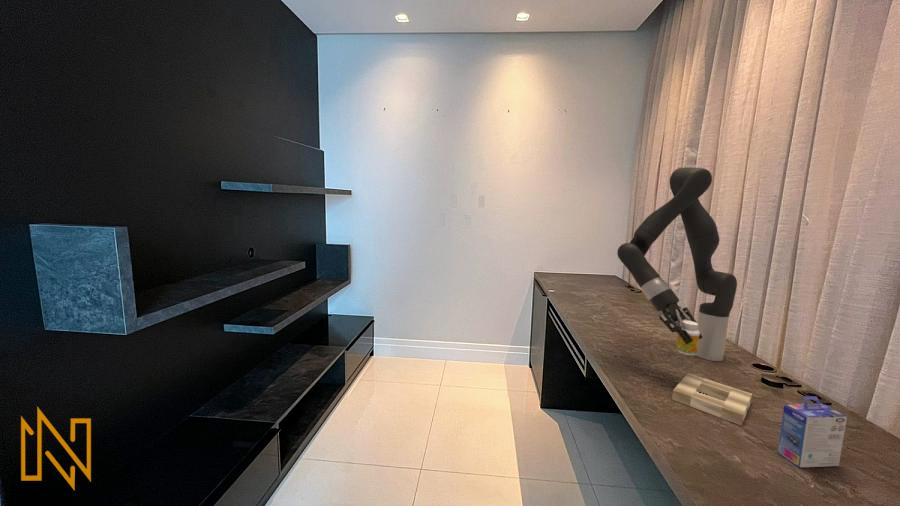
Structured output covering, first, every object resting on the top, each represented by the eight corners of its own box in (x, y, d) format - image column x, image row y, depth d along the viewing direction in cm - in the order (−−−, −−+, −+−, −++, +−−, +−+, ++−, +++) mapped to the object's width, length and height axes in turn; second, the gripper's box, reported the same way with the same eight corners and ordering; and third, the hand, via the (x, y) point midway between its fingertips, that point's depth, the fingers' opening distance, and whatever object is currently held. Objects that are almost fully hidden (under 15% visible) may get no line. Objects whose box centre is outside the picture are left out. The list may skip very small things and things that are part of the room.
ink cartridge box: (812, 449, 82) (823, 393, 80) (840, 467, 76) (852, 406, 74) (774, 450, 81) (784, 393, 79) (799, 468, 76) (811, 407, 74)
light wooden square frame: (686, 381, 113) (687, 373, 112) (750, 403, 101) (752, 393, 101) (671, 399, 102) (673, 389, 101) (741, 425, 90) (743, 415, 90)
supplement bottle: (678, 353, 107) (681, 323, 105) (674, 347, 112) (678, 318, 110) (698, 357, 105) (703, 326, 103) (694, 350, 110) (698, 321, 108)
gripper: (656, 290, 108) (694, 340, 100) (679, 285, 115) (716, 331, 107) (638, 302, 113) (672, 350, 105) (661, 297, 121) (695, 341, 112)
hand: (694, 340), depth 106 cm, fingers closed on supplement bottle, 5 cm apart
